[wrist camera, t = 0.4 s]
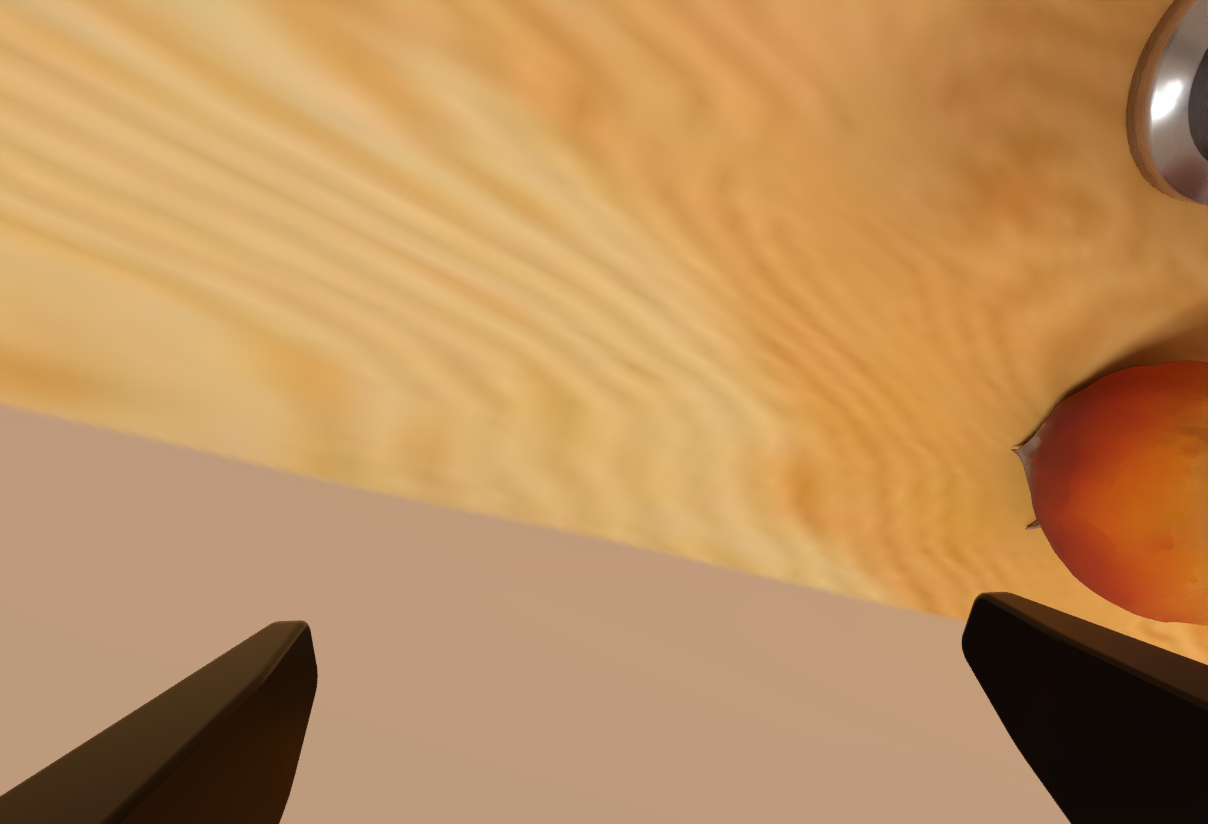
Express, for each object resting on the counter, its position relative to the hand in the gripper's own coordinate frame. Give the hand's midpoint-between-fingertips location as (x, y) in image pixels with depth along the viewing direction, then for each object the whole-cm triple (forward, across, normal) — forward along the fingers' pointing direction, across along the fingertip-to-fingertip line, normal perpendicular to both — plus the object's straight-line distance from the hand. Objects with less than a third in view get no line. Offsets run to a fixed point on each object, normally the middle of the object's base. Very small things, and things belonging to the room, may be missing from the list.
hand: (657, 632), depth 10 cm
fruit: (+14, +19, -5) cm, 24 cm away
